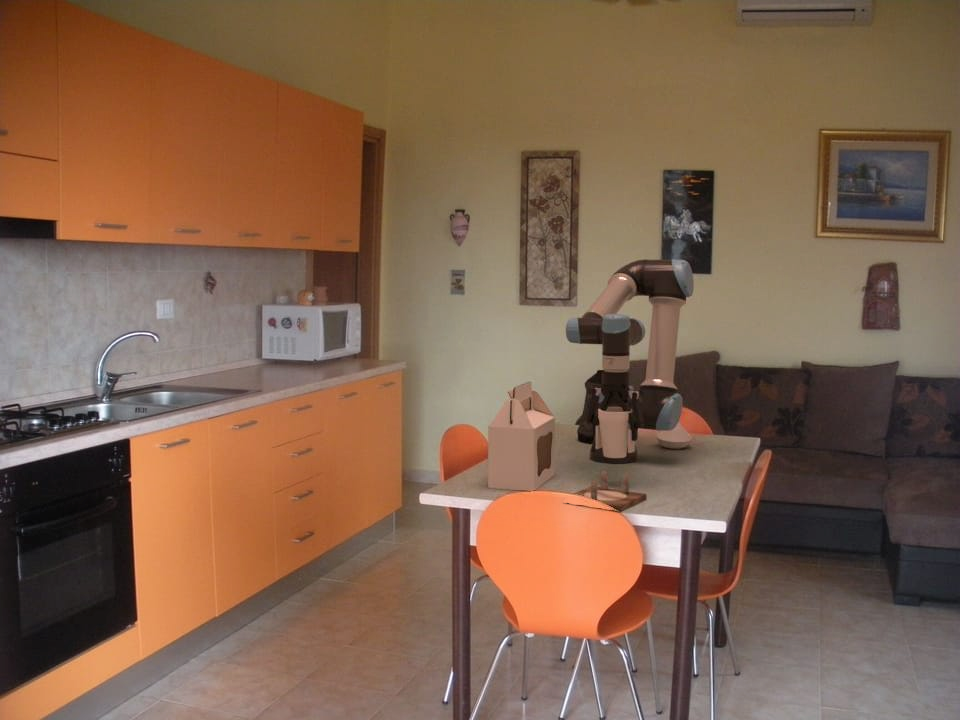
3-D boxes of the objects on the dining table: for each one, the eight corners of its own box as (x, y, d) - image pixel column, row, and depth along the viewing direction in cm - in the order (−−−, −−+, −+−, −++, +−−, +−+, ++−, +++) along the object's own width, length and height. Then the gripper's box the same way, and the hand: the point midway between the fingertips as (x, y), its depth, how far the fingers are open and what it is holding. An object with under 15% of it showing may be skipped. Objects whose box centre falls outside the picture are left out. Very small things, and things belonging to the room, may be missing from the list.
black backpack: (575, 436, 341) (576, 367, 339) (629, 436, 341) (630, 368, 338) (578, 444, 325) (579, 372, 323) (635, 445, 324) (636, 373, 322)
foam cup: (628, 451, 268) (629, 406, 266) (635, 459, 259) (635, 412, 257) (595, 452, 268) (595, 407, 266) (600, 459, 258) (600, 412, 257)
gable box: (511, 472, 282) (512, 379, 279) (554, 475, 277) (555, 381, 275) (487, 488, 261) (487, 388, 258) (533, 492, 256) (534, 390, 254)
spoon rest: (692, 451, 314) (692, 430, 314) (656, 450, 316) (656, 429, 316) (689, 439, 337) (689, 419, 337) (655, 438, 339) (656, 418, 339)
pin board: (592, 491, 257) (592, 467, 257) (646, 499, 248) (646, 475, 248) (563, 503, 244) (563, 478, 244) (619, 512, 235) (619, 486, 235)
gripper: (574, 369, 264) (573, 447, 266) (646, 374, 251) (645, 457, 254) (586, 366, 270) (586, 443, 272) (658, 371, 257) (657, 452, 260)
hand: (614, 450), depth 263 cm, fingers closed on foam cup, 9 cm apart
